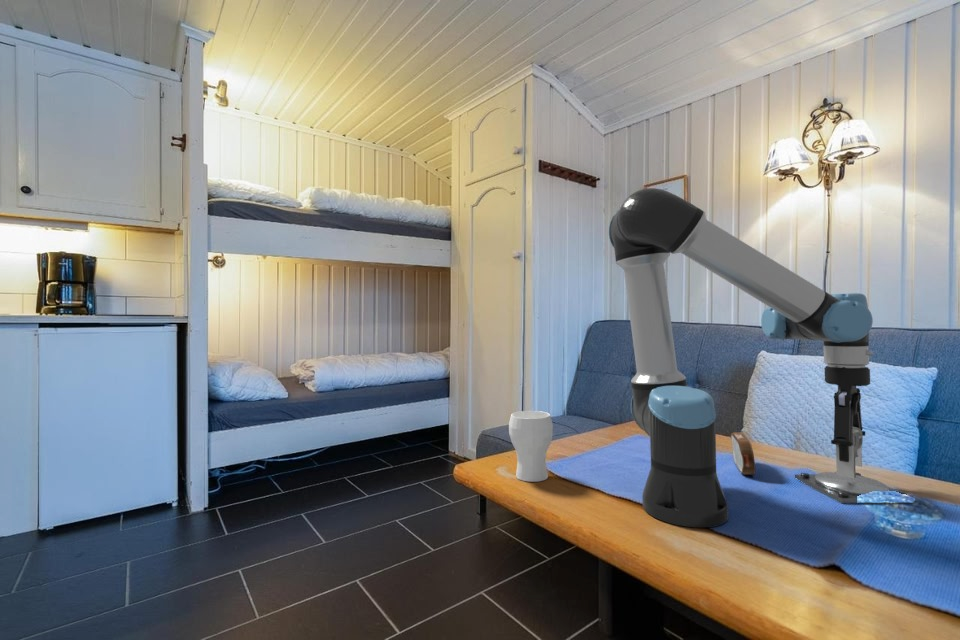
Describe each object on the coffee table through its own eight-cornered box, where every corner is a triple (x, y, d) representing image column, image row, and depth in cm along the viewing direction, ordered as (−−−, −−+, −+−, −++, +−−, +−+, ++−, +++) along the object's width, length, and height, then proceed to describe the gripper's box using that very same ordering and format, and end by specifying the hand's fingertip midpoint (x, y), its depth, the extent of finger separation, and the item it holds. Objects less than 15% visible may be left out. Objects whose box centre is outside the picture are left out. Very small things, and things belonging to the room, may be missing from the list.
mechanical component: (865, 473, 97) (863, 427, 97) (854, 484, 90) (852, 435, 90) (847, 469, 99) (846, 425, 99) (835, 481, 93) (834, 433, 93)
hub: (841, 503, 88) (841, 494, 88) (794, 478, 102) (794, 471, 102) (915, 503, 88) (914, 494, 88) (857, 478, 101) (857, 470, 102)
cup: (560, 473, 109) (559, 412, 109) (543, 487, 100) (541, 421, 100) (522, 466, 115) (521, 408, 115) (502, 479, 106) (500, 416, 106)
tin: (756, 480, 102) (755, 443, 102) (741, 479, 103) (740, 442, 103) (743, 461, 116) (742, 428, 116) (730, 460, 117) (729, 428, 117)
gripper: (861, 371, 85) (865, 489, 85) (876, 362, 100) (879, 462, 100) (813, 369, 90) (816, 479, 90) (834, 361, 105) (837, 455, 105)
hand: (849, 470), depth 95 cm, fingers closed on mechanical component, 10 cm apart
